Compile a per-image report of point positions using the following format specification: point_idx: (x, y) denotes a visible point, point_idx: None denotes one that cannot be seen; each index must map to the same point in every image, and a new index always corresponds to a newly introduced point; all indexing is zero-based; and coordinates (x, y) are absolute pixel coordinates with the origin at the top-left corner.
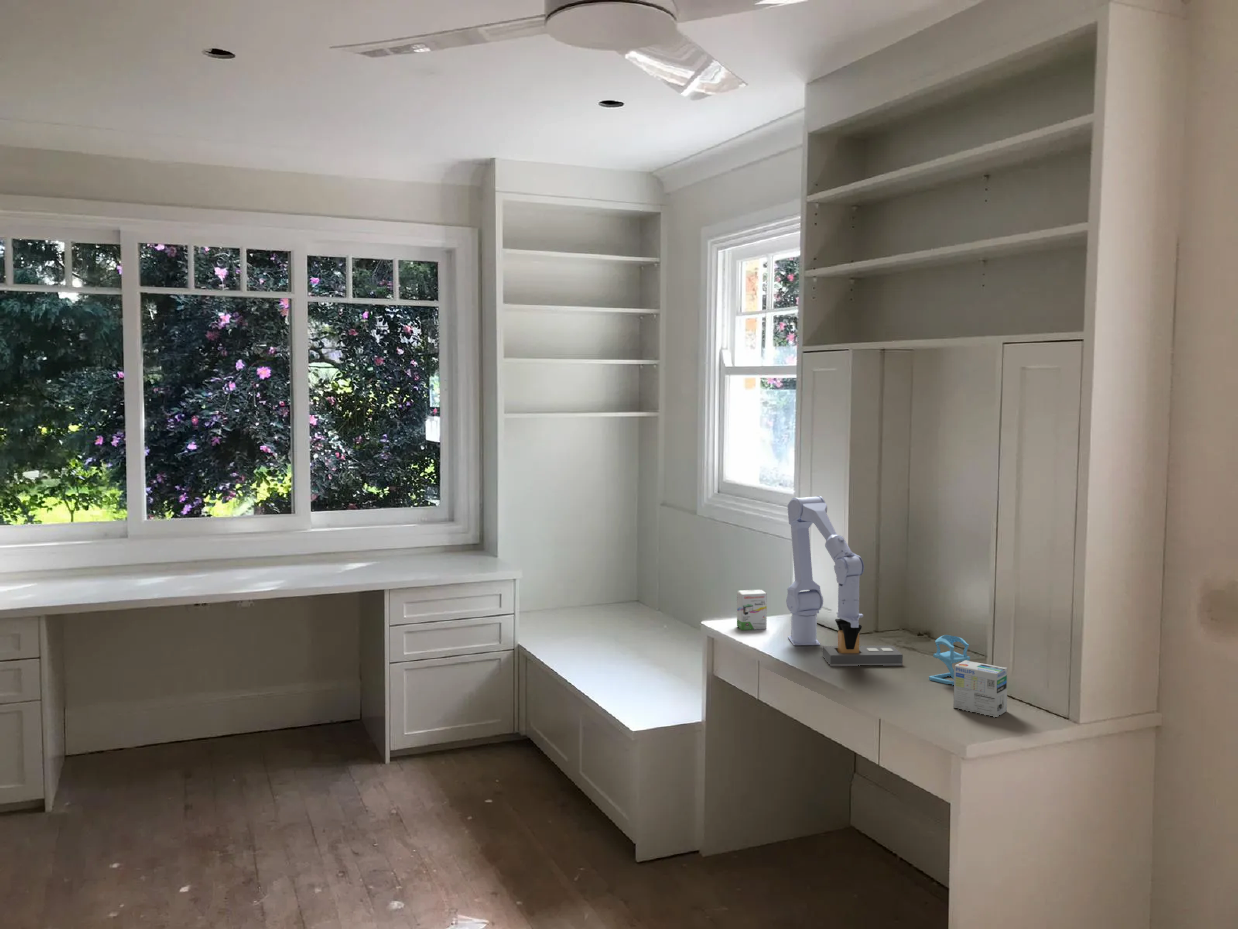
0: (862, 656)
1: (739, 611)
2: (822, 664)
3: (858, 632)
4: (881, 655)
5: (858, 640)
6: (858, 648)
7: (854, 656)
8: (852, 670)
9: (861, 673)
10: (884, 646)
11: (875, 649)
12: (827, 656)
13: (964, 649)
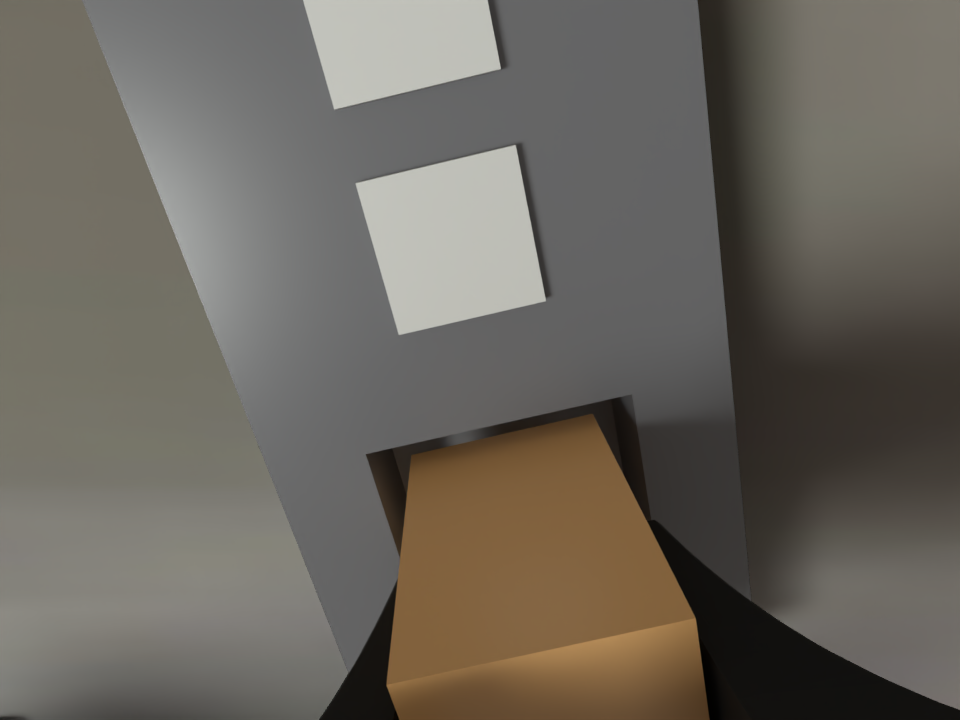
0: (725, 382)
1: None
2: None
3: (887, 689)
4: (705, 115)
5: (652, 540)
6: (615, 464)
7: (731, 473)
8: (847, 438)
9: (956, 356)
10: (159, 21)
11: (443, 199)
12: None
13: None
